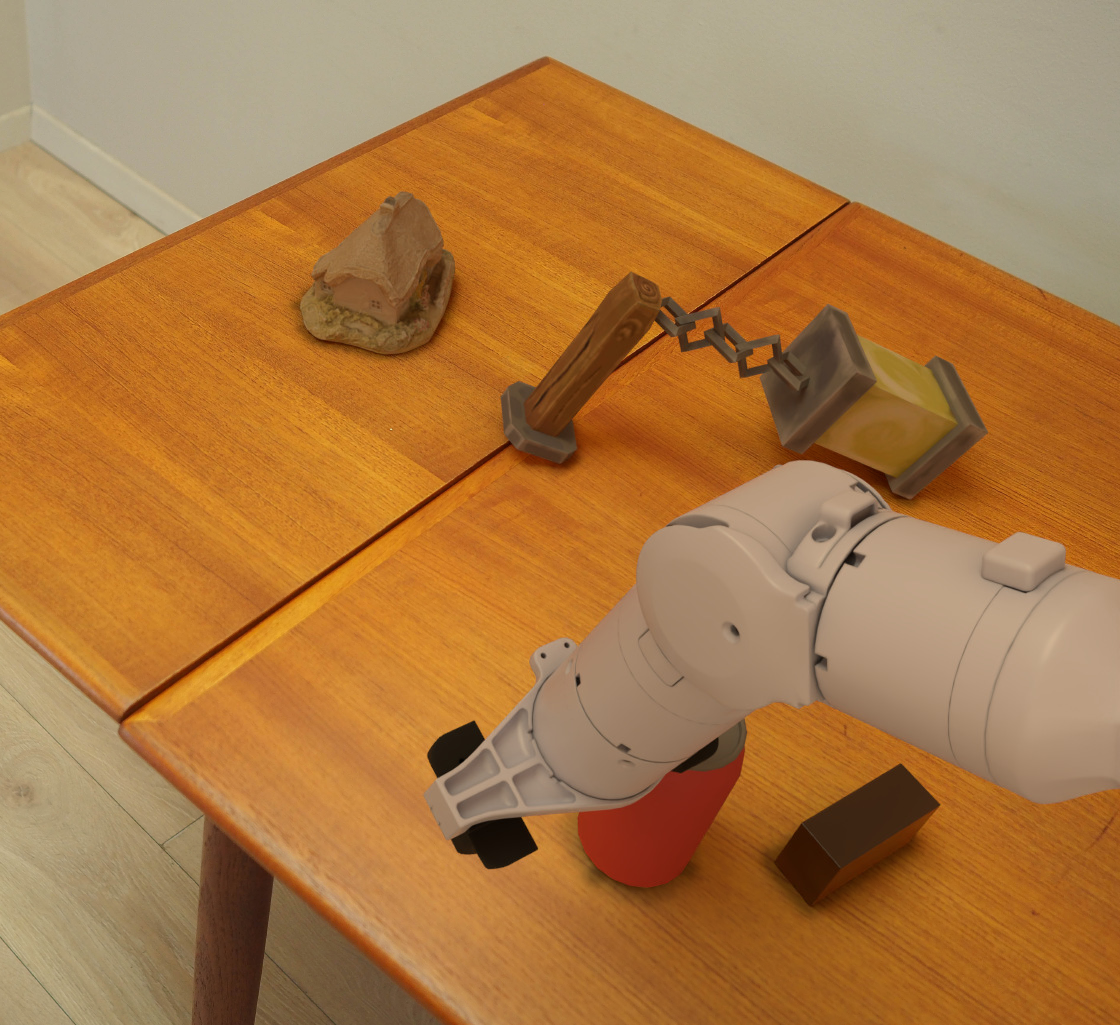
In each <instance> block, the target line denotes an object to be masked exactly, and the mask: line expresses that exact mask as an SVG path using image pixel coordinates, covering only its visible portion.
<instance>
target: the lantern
mask: <svg viewBox="0 0 1120 1025" xmlns="http://www.w3.org/2000/svg"><path fill="white" fill-rule="evenodd" d="M662 308H664V309H665V310H666V311H667V312H668V313H669V314H670V315H671V316H672V317H673V318H674V322H673V320H672V319H671V318H670V317H668V316H667V315H666V314H665V312H664V311H663V310H662ZM708 318H712V325H713V327H711V328H708V329H706V330H704V331H703V336H704V338H702V339H698V340H694V341H690V342H689V337H688V332H692V331H694V330H695V329H697V323H696V322H697V321H702V320H704V319H708ZM654 322H655V323H656V324H657V325H658V326H659V327H660V328H661V329H662V330H663V331H664V332H665V333H666V334H667V335H668V336H669V338H676V337H677V338H678V343H679V349H680V352H681V353H687V352H690V351H691V352H692V351H695V350H699V349H703V348H707V347H711V346H712V347H713V348H714V349H715V350H716V351H717V352H718V353H719V354H720V355H721V356H722V357H723V358H724V359H725V360H726V361H727V362H728V363H729V364H735V363H736V364H737V370H738V374H739V379H745V378H751V377H753V376H758V375H760V376H759V381H760V384H761V386H762V389H763V392H764V395H765V398H766V401H767V404H768V407H769V410H770V413H771V417H772V419H773V424H774V425H775V430H776V431H777V434H778V437H779V441H780V443H781V446H782V448H785V449H788V450H791V452H795V453H798V454H800V455H803V454H804V453H805V452H807V451H808V449H810V447H811V446H813V445H814V444H816V445H818V446H821V447H822V448H825V449H827V450H830V451H832V452H835V453H837V454H839V455H841V456H844V457H846V458H849V459H851V460H853V461H856V462H858V463H860V464H862V465H865V466H867V467H870V468H871V469H875V470H876V471H879V472H881V473H884V476H885V478H886V481H887V483H888V485H889V488H890V490H891V493H893V494H895V495H898V496H900V497H902V498H905V499H907V500H912V499H913V498H915V496H917V495H918V494H919V493H920V492H921V491H923V489H925V488H926V487H927V486H928V485H930V484H931V483H932V482H933V481H934V480H935V479H937V477H939V476H940V475H941V474H943V472H945V471H946V470H947V469H948V468H949V467H951V466H952V465H953V464H954V463H955V462H956V461H957V460H959V459H960V458H961V457H962V456H963V455H965V454H966V453H967V452H968V451H969V450H970V449H972V448H973V447H974V446H975V445H976V444H977V443H979V442H980V441H981V440H982V439H984V437H985V436H987V435H988V434H989V431H988V429H987V427H986V424H985V423H984V421H983V419H982V416H981V415H980V413H979V411H978V410H977V408H976V406H975V403H974V402H973V400H972V398H971V396H970V394H969V392H968V390H967V388H966V386H965V384H964V382H963V380H962V378H961V376H960V374H959V373H958V371H957V369H956V366H955V365H954V363H952V362H950V361H948V360H946V359H944V358H942V357H940V356H937V355H934V356H933V357H932V358H930V359H929V361H927V363H925V364H924V365H923V364H920V363H919V362H917V361H915V360H912V359H911V358H907V357H906V356H903V355H901V354H899V353H897V352H895V351H893V350H891V349H889V348H887V347H885V346H882V345H881V344H879V343H876V342H874V341H872V340H871V339H868V338H866V337H864V336H861V335H859V334H858V333H857V332H856V329H855V328H854V325H853V323H852V321H851V318H850V316H849V314H848V312H846V311H845V310H842V309H840V308H838V307H837V306H834V305H831V304H830V303H827V304H826V305H825V306H824V307H822V309H821V310H820V311H819V312H818V314H817V315H816V316H815V317H814V318H813V319H812V320H811V321H810V322H809V323H808V324H807V325H806V327H805V328H804V329H803V330H801V331H800V333H799V334H798V335H797V336H796V337H794V339H793V340H792V341H791V343H789V345H788V346H787V347H785V349H784V350H782V341H781V334H780V333H779V334H773V335H768V336H765V337H761V338H757V339H753V340H748V341H747V339H745V338H744V337H743V336H742V335H741V334H740V333H739V332H738V331H737V330H736V329H735V328H734V327H733V326H732V325H731V324H730V323H728V322H723V317H722V311H721V306H717V307H712V308H707V309H703V310H700V311H696V312H692V313H687V311H686V310H684V309H683V308H682V307H681V306H680V304H678V303H677V301H676V300H674V299H673V298H672V296H665V297H662V295H661V291H660V287H659V285H658V283H655V281H652V280H650V279H649V278H646V277H643V275H642V276H641V275H639V274H637V273H635V272H633V271H629V272H628V273H627V275H625V276H624V277H623V278H622V279H621V280H619V281H618V283H616V284H615V285H614V286H613V287H612V288H611V289H610V290H609V291H608V292H607V294H606V295H605V297H604V298H603V299H602V301H601V302H600V304H599V305H598V307H597V308H596V309H595V311H594V312H593V314H592V315H591V316H590V318H589V319H588V321H587V322H586V323H585V324H584V325H583V327H582V328H581V329H580V330H579V332H578V333H577V334H576V336H575V337H574V338H573V339H572V341H571V342H570V343H569V345H568V346H567V347H566V348H565V350H564V351H563V352H562V354H561V355H560V356H559V357H558V359H557V360H556V361H555V363H554V364H552V366H551V367H550V368H549V370H548V371H547V373H546V374H545V375H544V376H543V377H542V379H541V380H540V381H539V383H538V384H537V386H534V385H531V384H528V383H525V382H522V381H520V380H518V381H516V382H513V383H512V384H510V385H508V386H507V387H506V389H505V390H504V391H503V393H502V394H501V395H500V404H501V416H502V426H503V428H502V429H503V435H504V436H505V437H506V439H507V440H508V441H509V442H510V443H511V444H512V445H513V447H514V448H515V449H516V450H518V451H521V452H524V453H526V454H530V455H532V456H535V457H538V458H541V459H544V460H547V461H550V462H553V463H556V464H559V465H561V464H563V463H565V462H566V461H567V460H569V459H570V458H571V457H572V456H573V454H574V453H576V451H577V450H578V445H577V439H576V432H575V427H574V421H573V420H574V418H575V417H576V416H577V415H578V413H579V412H580V411H581V410H582V409H583V407H584V406H585V405H586V404H587V403H588V402H589V400H590V399H591V398H592V397H593V396H594V394H595V393H596V392H598V390H599V388H601V386H602V385H603V384H604V382H606V381H607V379H608V378H610V376H611V374H613V372H614V371H615V370H616V368H618V366H619V365H620V364H621V363H622V362H623V360H624V359H625V358H626V357H627V356H628V354H630V352H632V350H633V349H634V348H635V347H636V345H638V343H639V342H640V341H642V339H643V338H644V337H645V335H647V333H648V332H649V331H650V330H651V328H652V327H653V324H654ZM726 339H727V340H728V341H729V342H730V343H731V344H732V345H733V347H734V349H735V350H734V349H733V348H732V346H730V345H729V344H728V343H727V342H726ZM770 345H771V349H772V357H770V358H768V359H766V363H764V364H761V365H756V366H753V367H752V366H751V367H748V361H747V358H749V357H750V356H752V355H754V349H758V348H762V347H766V346H770Z"/></svg>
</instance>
